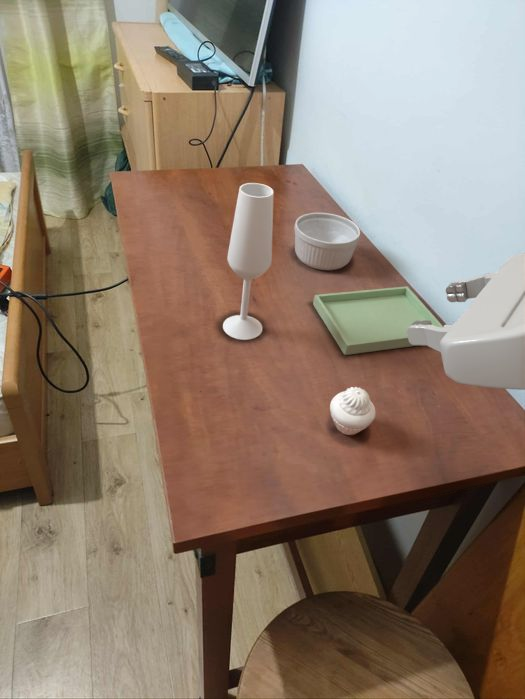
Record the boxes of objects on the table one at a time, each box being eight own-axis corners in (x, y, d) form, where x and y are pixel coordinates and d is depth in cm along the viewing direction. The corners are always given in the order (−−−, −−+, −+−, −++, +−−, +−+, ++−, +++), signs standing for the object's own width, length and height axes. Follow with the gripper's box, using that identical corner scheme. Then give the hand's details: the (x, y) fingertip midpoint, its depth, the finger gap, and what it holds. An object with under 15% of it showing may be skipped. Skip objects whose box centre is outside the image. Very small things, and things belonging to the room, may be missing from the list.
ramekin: (277, 250, 106) (281, 219, 102) (322, 236, 113) (328, 206, 109) (321, 281, 99) (327, 249, 94) (366, 263, 106) (374, 233, 101)
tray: (404, 295, 98) (407, 286, 97) (444, 341, 88) (448, 332, 87) (312, 304, 93) (314, 294, 91) (344, 355, 83) (347, 345, 81)
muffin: (320, 411, 73) (329, 375, 68) (360, 408, 74) (372, 373, 69) (332, 445, 68) (343, 410, 64) (375, 442, 69) (388, 407, 65)
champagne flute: (264, 317, 88) (282, 183, 72) (260, 342, 83) (279, 203, 67) (225, 312, 88) (235, 177, 72) (219, 336, 83) (229, 196, 67)
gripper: (618, 226, 46) (463, 243, 55) (570, 327, 32) (376, 327, 42) (621, 291, 48) (471, 297, 57) (577, 410, 35) (392, 393, 44)
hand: (430, 311), depth 49 cm, fingers open, 8 cm apart
